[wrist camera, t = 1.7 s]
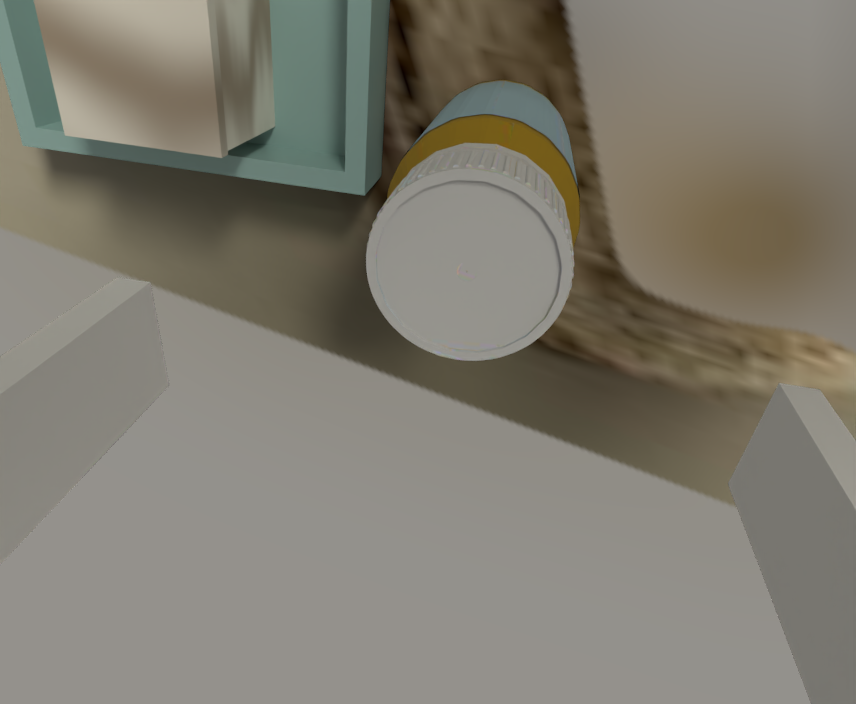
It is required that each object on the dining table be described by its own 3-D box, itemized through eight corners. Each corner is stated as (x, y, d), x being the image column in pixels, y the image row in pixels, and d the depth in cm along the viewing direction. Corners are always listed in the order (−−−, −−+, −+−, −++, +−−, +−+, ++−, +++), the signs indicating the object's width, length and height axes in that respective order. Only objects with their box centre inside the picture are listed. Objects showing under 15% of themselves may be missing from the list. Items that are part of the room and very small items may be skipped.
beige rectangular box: (123, -30, 27) (25, -35, 22) (270, -13, 27) (205, -13, 22) (145, 110, 31) (64, 135, 26) (277, 128, 30) (221, 157, 25)
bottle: (403, 149, 30) (304, 261, 18) (505, 43, 27) (474, 91, 15) (492, 245, 32) (460, 408, 20) (598, 157, 29) (641, 285, 16)
